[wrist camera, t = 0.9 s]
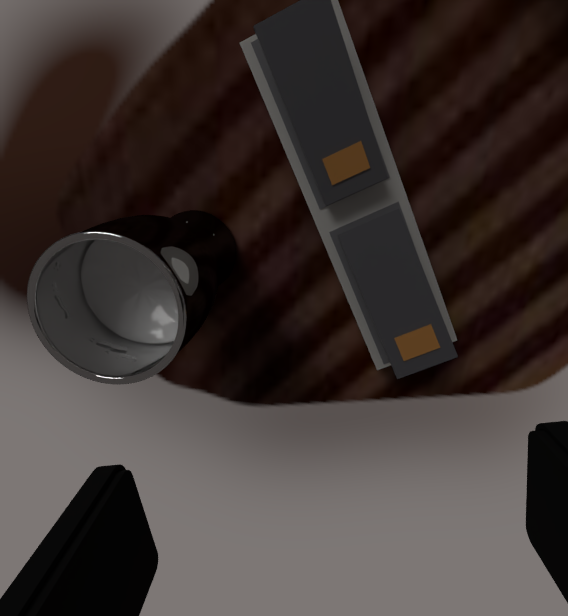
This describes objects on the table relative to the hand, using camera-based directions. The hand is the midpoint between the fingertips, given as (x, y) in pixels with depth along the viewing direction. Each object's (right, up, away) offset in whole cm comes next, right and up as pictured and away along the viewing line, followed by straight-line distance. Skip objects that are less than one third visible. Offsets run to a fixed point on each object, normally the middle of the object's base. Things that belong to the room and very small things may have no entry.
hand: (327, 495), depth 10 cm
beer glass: (-8, +9, +21) cm, 24 cm away
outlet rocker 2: (+6, +5, +16) cm, 18 cm away
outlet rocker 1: (+1, +16, +13) cm, 21 cm away
